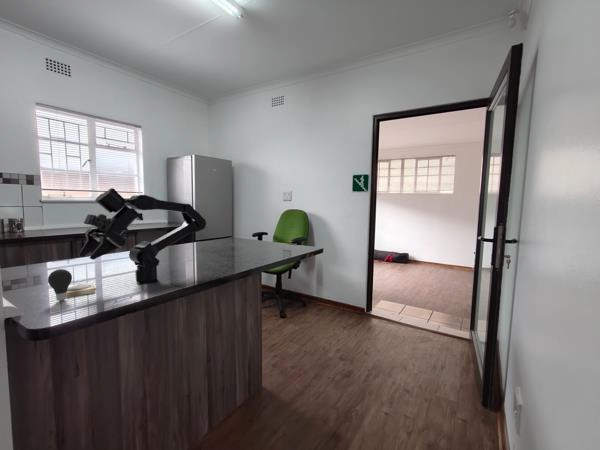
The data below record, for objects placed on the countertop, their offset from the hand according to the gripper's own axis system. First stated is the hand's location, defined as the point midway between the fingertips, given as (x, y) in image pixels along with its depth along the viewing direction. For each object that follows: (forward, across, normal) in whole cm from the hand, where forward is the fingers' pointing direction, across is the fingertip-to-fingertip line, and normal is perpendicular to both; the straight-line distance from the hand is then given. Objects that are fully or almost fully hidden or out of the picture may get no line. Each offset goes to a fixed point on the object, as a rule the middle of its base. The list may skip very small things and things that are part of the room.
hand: (85, 257), depth 90 cm
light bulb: (+14, 0, +4) cm, 15 cm away
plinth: (+9, -7, +8) cm, 14 cm away
